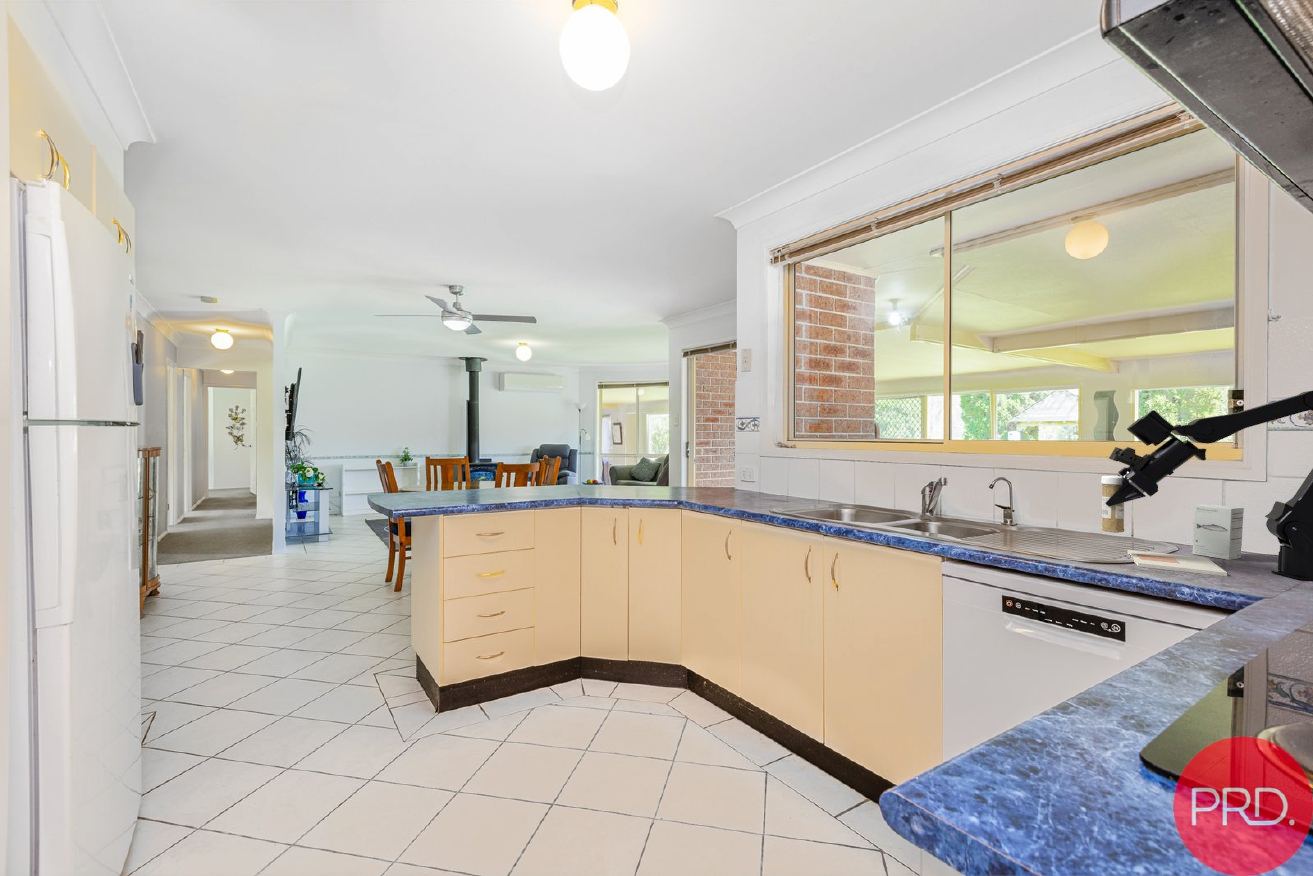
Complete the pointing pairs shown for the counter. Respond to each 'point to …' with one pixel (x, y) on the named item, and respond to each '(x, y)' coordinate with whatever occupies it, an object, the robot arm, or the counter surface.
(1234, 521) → the supplement box
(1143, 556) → the mat
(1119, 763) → the counter surface
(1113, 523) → the sprinkles bottle
